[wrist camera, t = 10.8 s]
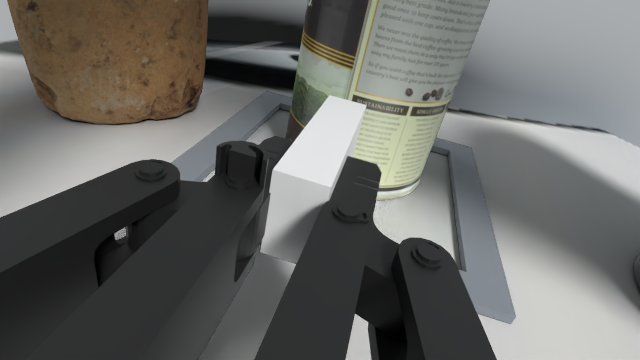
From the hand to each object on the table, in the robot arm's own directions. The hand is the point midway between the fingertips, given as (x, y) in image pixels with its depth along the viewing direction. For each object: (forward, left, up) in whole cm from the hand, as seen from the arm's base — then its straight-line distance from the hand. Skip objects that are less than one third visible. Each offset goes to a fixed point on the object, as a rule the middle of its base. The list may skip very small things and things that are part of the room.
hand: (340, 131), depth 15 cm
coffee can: (0, -11, -7) cm, 13 cm away
